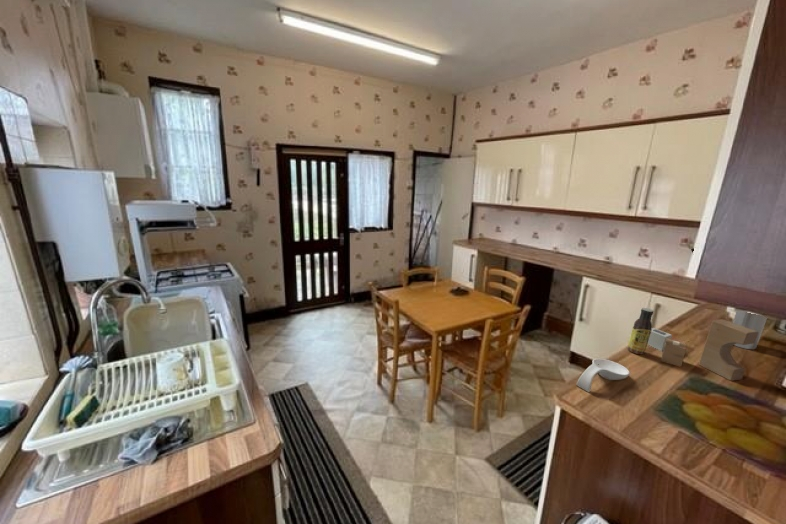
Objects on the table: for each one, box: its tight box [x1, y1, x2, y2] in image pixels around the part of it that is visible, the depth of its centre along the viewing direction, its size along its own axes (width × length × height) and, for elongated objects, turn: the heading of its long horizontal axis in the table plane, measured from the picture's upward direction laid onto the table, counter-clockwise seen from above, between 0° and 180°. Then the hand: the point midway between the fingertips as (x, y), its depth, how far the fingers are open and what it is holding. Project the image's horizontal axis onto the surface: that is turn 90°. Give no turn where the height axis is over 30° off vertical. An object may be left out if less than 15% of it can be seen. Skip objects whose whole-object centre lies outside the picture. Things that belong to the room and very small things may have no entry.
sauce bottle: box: [626, 307, 655, 355], centre depth 133 cm, size 7×6×20 cm
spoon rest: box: [576, 358, 631, 393], centre depth 116 cm, size 24×12×7 cm, turn 121°
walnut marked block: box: [661, 338, 687, 368], centre depth 128 cm, size 6×6×8 cm
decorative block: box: [698, 318, 758, 382], centre depth 120 cm, size 11×6×20 cm, turn 11°
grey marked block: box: [647, 327, 672, 352], centre depth 140 cm, size 5×7×7 cm
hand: (705, 272), depth 132 cm, fingers closed
